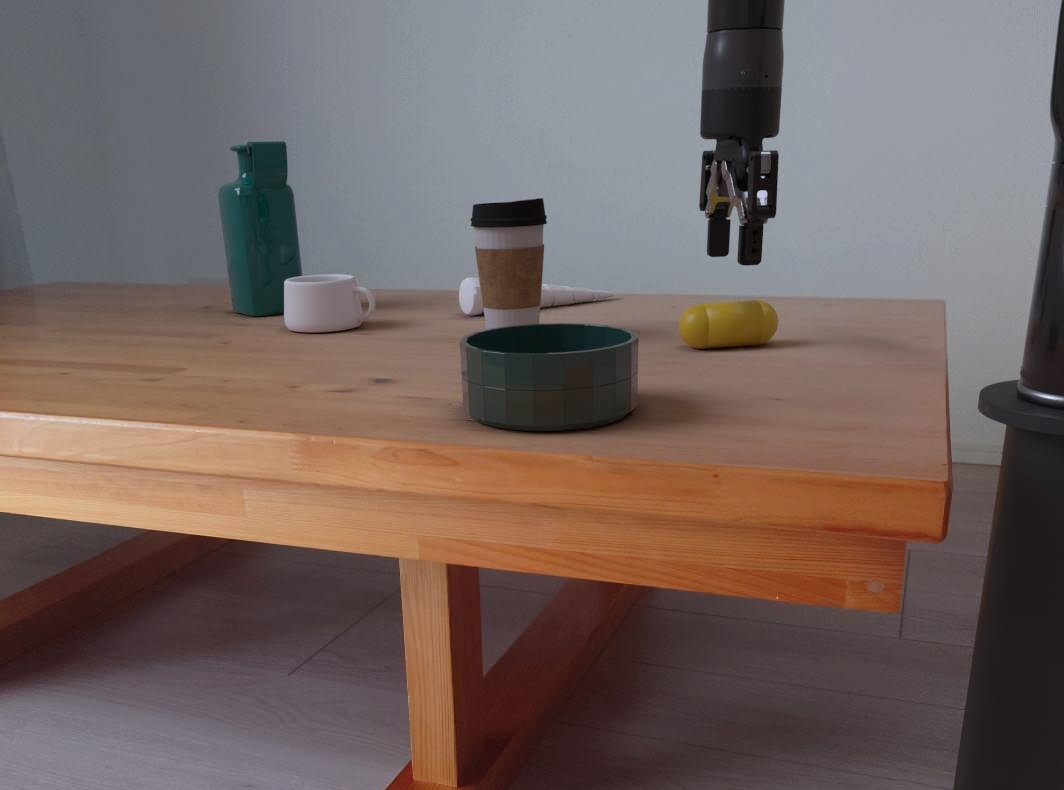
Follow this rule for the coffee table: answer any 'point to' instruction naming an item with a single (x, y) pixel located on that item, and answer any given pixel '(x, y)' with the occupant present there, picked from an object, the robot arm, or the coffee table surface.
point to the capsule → (728, 324)
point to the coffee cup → (510, 260)
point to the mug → (324, 303)
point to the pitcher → (260, 229)
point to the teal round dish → (549, 375)
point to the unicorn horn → (549, 296)
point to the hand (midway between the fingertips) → (732, 260)
